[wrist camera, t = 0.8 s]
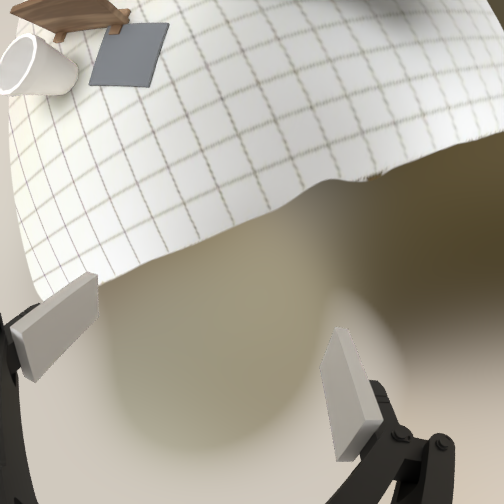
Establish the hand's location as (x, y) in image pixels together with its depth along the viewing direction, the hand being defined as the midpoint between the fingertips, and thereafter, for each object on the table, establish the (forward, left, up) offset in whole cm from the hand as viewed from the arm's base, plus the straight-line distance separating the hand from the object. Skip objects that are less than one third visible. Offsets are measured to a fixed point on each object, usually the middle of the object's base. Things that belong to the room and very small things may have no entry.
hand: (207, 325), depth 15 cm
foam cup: (-18, -36, -27) cm, 49 cm away
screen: (-28, -34, -27) cm, 52 cm away
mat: (-22, -24, -27) cm, 43 cm away
